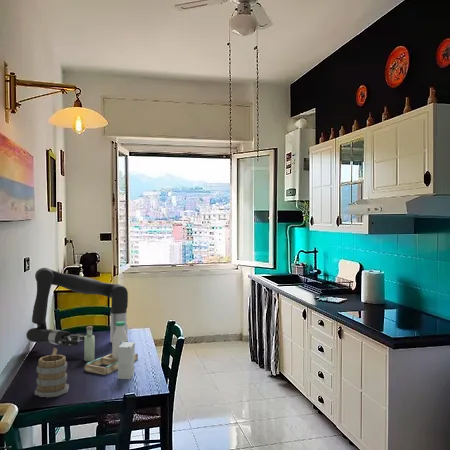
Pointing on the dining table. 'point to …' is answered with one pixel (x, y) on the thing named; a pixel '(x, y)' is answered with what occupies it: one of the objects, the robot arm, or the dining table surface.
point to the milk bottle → (118, 338)
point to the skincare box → (126, 360)
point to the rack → (106, 360)
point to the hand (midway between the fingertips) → (83, 341)
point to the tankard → (52, 375)
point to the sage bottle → (89, 345)
